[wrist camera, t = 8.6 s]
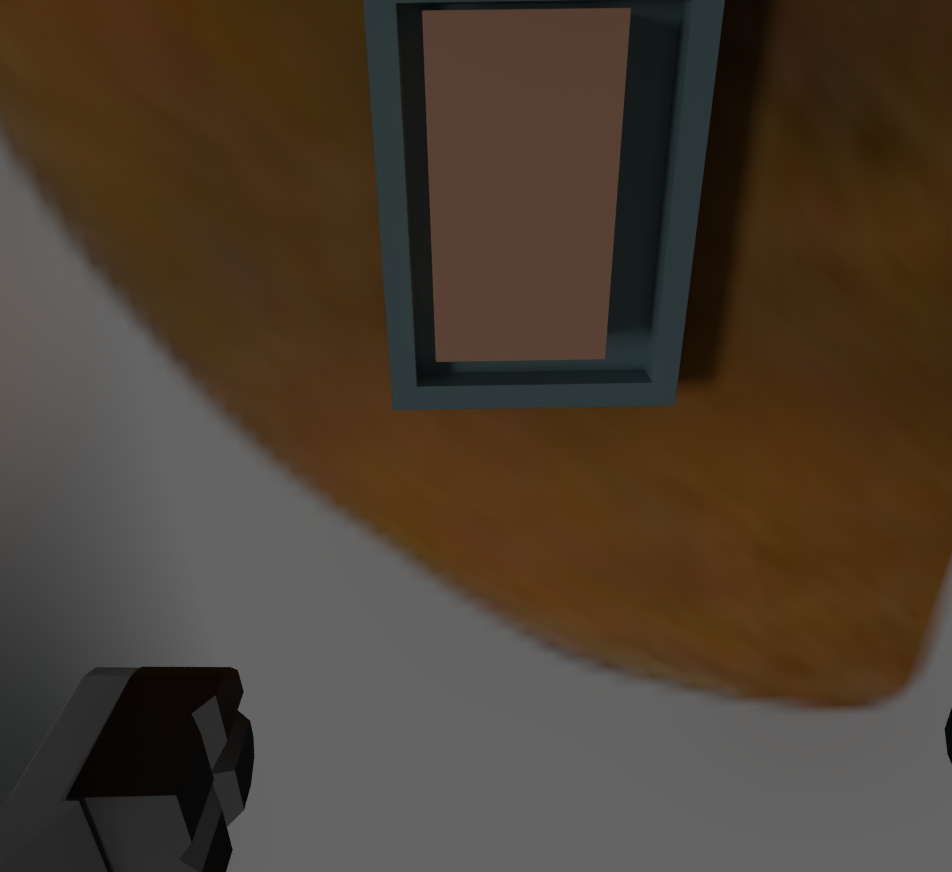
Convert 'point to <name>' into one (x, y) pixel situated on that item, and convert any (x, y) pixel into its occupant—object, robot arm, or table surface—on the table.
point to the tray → (636, 223)
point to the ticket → (523, 178)
